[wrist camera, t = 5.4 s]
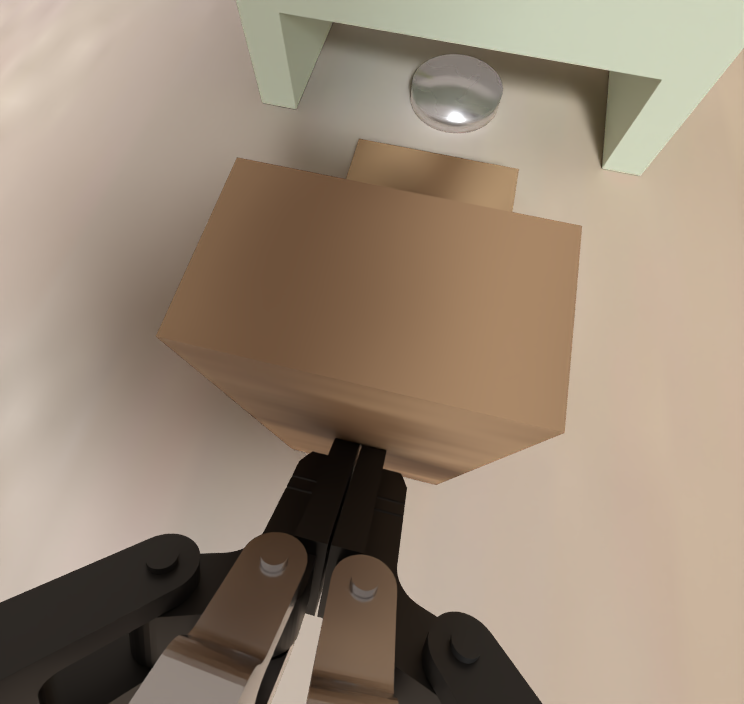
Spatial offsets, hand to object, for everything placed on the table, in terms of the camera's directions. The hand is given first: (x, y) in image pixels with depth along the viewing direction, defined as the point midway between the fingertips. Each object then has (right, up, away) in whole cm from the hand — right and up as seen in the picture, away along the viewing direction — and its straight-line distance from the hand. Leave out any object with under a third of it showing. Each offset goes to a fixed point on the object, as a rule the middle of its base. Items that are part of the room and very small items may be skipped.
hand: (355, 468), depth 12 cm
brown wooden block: (+2, +6, +8) cm, 10 cm away
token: (+5, +18, +13) cm, 22 cm away
